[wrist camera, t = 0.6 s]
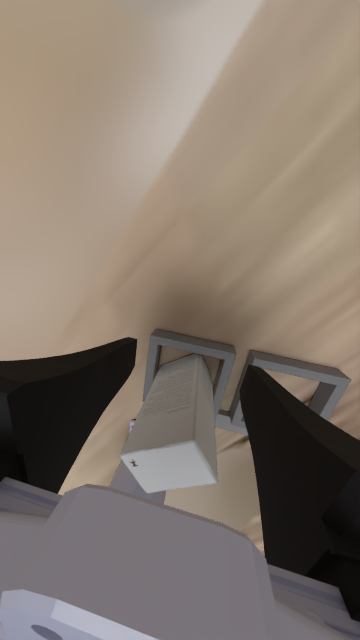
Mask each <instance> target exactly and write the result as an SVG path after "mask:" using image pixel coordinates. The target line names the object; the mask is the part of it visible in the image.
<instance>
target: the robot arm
mask: <svg viewBox="0 0 360 640" xmlns="http://www.w3.org/2000/svg"><path fill="white" fill-rule="evenodd" d="M136 348H137V339H134V338H130V337H127V338H123V339H120V340H117V341H114V342H111V343H108V344H105V345H102V346H99V347H95V348H92V349H88V350H85V351H81V352H76V353H72V354H67V355H61V356H54V357H47V358H39V359H29V360H16V361H0V640H360V441H359V440H358V439H356V438H354V437H352V436H351V435H349V434H348V433H346V432H344V431H343V430H341V429H340V428H338V427H336V426H335V425H333V424H332V423H330V422H329V421H327V420H326V419H324V418H323V417H321V416H320V415H318V414H317V413H316V412H314V411H313V410H311V409H310V408H309V407H307V406H306V405H304V404H303V403H302V402H301V401H299V400H298V399H297V398H296V397H294V396H293V395H292V394H291V393H289V392H288V391H287V390H286V389H285V388H283V387H282V386H281V385H280V384H279V383H278V382H277V381H275V380H274V379H273V378H272V377H271V376H270V375H269V374H267V373H266V372H265V371H264V370H263V369H261V368H260V367H258V366H254V365H249V364H248V367H247V370H246V373H245V376H244V379H243V382H242V385H241V388H240V391H239V393H240V402H241V409H242V413H243V417H244V421H245V425H246V429H247V433H248V437H249V441H250V445H251V449H252V454H253V460H254V466H255V473H256V479H257V487H258V495H259V502H260V512H261V521H262V530H263V541H264V552H265V557H264V556H263V555H262V553H261V552H260V551H259V550H258V549H257V547H256V546H255V545H254V544H253V543H252V541H251V540H250V539H249V538H248V537H247V536H246V535H245V534H243V533H241V532H239V531H237V530H235V529H233V528H231V527H229V526H227V525H225V524H223V523H221V522H218V521H214V520H211V519H208V518H205V517H202V516H199V515H196V514H192V513H189V512H186V511H183V510H180V509H176V508H174V507H170V506H167V505H164V500H165V494H166V490H165V491H159V492H153V493H146V492H145V491H144V489H143V488H142V487H141V485H140V484H139V483H138V481H137V480H136V479H135V477H134V476H133V474H132V473H131V471H130V470H129V469H128V467H127V466H126V465H125V463H124V462H123V460H122V459H121V461H120V464H119V466H118V468H117V470H116V473H115V475H114V477H113V479H112V482H111V484H110V486H109V487H106V486H99V485H91V484H86V485H83V486H80V487H78V488H75V489H72V490H70V491H68V492H65V493H64V495H63V496H62V495H59V494H58V492H59V490H60V488H61V486H62V484H63V482H64V480H65V478H66V477H67V475H68V473H69V471H70V469H71V467H72V465H73V464H74V462H75V460H76V458H77V456H78V454H79V453H80V451H81V449H82V447H83V445H84V444H85V442H86V440H87V438H88V437H89V435H90V433H91V431H92V430H93V428H94V426H95V425H96V423H97V421H98V420H99V418H100V416H101V415H102V413H103V412H104V410H105V409H106V407H107V406H108V405H109V403H110V402H111V401H112V399H113V398H114V397H115V395H116V394H117V393H118V391H119V390H120V389H121V387H122V386H123V384H124V383H125V382H126V380H127V379H128V377H129V376H130V374H131V372H132V370H133V368H134V366H135V358H136ZM134 423H135V420H132V421H131V422H130V429H129V434H130V432H131V430H132V428H133V425H134Z"/></svg>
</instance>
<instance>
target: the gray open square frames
mask: <svg viewBox="0 0 360 640" xmlns="http://www.w3.org/2000/svg"><path fill="white" fill-rule="evenodd" d="M161 345H162V346H166V347H171V348H175V349H179V350H184V351H188V352H193V353H197V354H201V355H206V356H210V357H215V358H219V359H221V363H220V366H219V370H218V373H217V377H216V380H215V384H214V387H213V405H214V423H215V427H217V428H221V429H225V430H228V431H232V432H236V433H240V434H243V435H247V436H248V433H247V429H246V425H245V421H244V417H243V413H242V409H241V402H240V393H239V391H240V388H241V385H242V382H243V379H244V376H245V373H246V370H247V367H248V364H249V365H254V366H258V367H260V368H263V369H267V370H272V371H276V372H281V373H285V374H289V375H294V376H298V377H303V378H307V379H311V380H316V381H320V382H321V383H320V385H319V386H318V388H317V390H316V392H315V394H314V396H313V398H312V400H311V402H310V403H309V405H308V407H309V408H310V409H311V410H313V411H314V412H316V413H317V414H318V415H320V416H321V417H323V418H324V419H326V420H328V418H329V417H330V415H331V413H332V412H333V410H334V408H335V407H336V405H337V403H338V402H339V400H340V398H341V397H342V395H343V393H344V392H345V390H346V388H347V387H348V385H349V383H350V382H351V379H350V378H348V377H347V376H346V375H345V374H344V373H342V372H341V371H340V370H339V369H336V368H331V367H326V366H322V365H317V364H313V363H308V362H304V361H299V360H294V359H290V358H285V357H281V356H276V355H271V354H267V353H262V352H258V351H253V350H250V352H249V355H248V358H247V361H246V364H245V367H244V370H243V373H242V376H241V379H240V382H239V385H238V388H237V391H236V394H235V397H234V400H233V402H232V405H231V408H230V411H229V412H226V411H223V410H219V408H220V405H221V402H222V399H223V395H224V392H225V389H226V386H227V383H228V379H229V376H230V373H231V370H232V366H233V363H234V360H235V357H236V352H235V348H234V346H230V345H226V344H221V343H217V342H212V341H207V340H203V339H198V338H194V337H189V336H185V335H180V334H175V333H171V332H166V331H162V330H157V329H155V330H154V331H153V333H152V334H151V335H150V343H149V352H148V360H147V368H146V377H145V385H144V394H143V402H144V401H145V399H146V397H147V395H148V392H149V390H150V388H151V386H152V383H153V381H154V379H155V377H156V375H157V369H158V362H159V355H160V348H161Z"/></svg>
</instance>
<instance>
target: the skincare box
mask: <svg viewBox="0 0 360 640" xmlns="http://www.w3.org/2000/svg"><path fill="white" fill-rule="evenodd" d="M120 457H121V459H122V460H123V462H124V463H125V465H126V466H127V467H128V469H129V470H130V471H131V473H132V474H133V476H134V477H135V479H136V480H137V481H138V483H139V484H140V485H141V487H142V488H143V489H144V491H145V492H146V493H153V492H159V491H165V490H170V489H179V488H186V487H193V486H200V485H207V484H215V483H217V482H218V476H217V460H216V458H217V457H216V439H215V423H214V405H213V387H212V376H211V374H210V372H209V370H208V368H207V366H206V363H205V361H204V359H203V357H202V355H201V354H197V353H194V354H191V355H189V356H186V357H183V358H180V359H178V360H175V361H172V362H169V363H167V364H164V365H161V366H160V368H159V370H158V372H157V375H156V377H155V379H154V381H153V383H152V386H151V388H150V390H149V392H148V395H147V397H146V399H145V401H144V403H143V406H142V408H141V410H140V412H139V414H138V417H137V419H136V421H135V423H134V425H133V428H132V430H131V432H130V434H129V436H128V439H127V441H126V443H125V445H124V447H123V450H122V452H121V454H120Z"/></svg>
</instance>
